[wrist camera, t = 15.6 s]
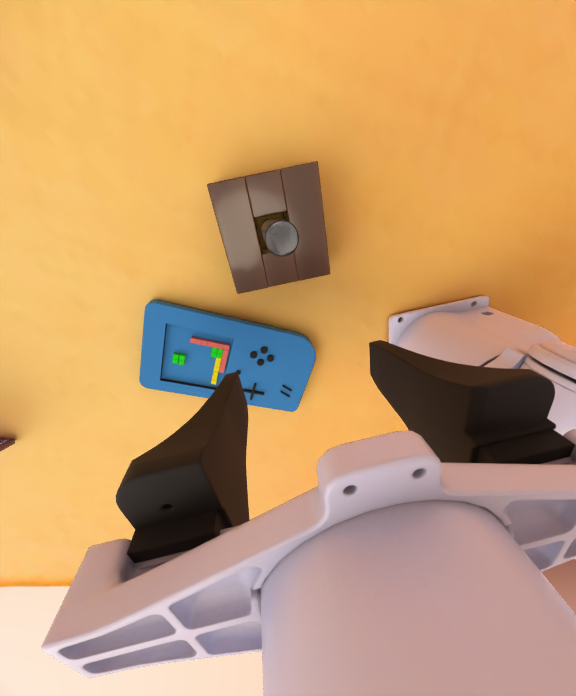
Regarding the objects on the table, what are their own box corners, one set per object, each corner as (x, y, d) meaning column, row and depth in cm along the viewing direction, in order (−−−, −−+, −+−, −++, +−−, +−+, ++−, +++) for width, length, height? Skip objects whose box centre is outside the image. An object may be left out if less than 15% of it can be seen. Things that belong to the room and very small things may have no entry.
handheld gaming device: (296, 414, 27) (137, 389, 24) (295, 407, 28) (142, 382, 25) (323, 342, 24) (143, 301, 21) (320, 337, 25) (148, 297, 22)
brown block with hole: (310, 167, 19) (317, 161, 17) (322, 268, 22) (330, 274, 20) (212, 188, 19) (206, 184, 17) (239, 286, 22) (237, 294, 20)
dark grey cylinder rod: (279, 216, 20) (296, 215, 12) (283, 239, 21) (302, 253, 13) (258, 221, 20) (261, 223, 12) (263, 244, 21) (268, 260, 13)
